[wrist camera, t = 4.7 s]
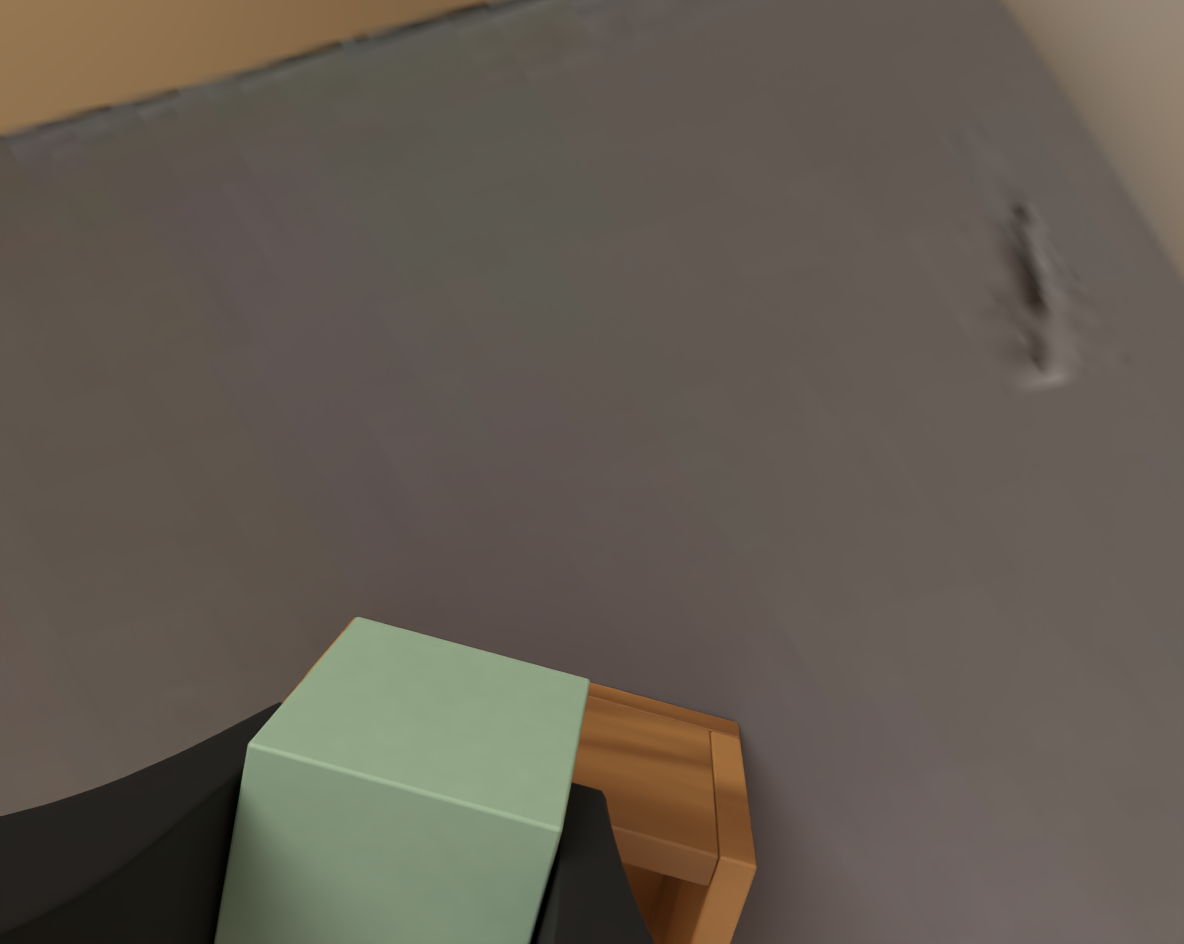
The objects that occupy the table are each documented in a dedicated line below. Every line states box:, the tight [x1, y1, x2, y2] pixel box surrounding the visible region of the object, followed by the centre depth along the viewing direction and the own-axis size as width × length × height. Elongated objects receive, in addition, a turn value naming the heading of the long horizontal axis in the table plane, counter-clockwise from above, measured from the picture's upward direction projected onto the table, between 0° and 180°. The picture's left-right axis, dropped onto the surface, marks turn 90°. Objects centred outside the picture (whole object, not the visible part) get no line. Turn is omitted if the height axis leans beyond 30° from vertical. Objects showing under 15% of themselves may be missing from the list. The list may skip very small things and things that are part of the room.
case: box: [282, 618, 757, 944], centre depth 23 cm, size 10×11×6 cm
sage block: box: [214, 617, 590, 944], centre depth 13 cm, size 4×4×4 cm
